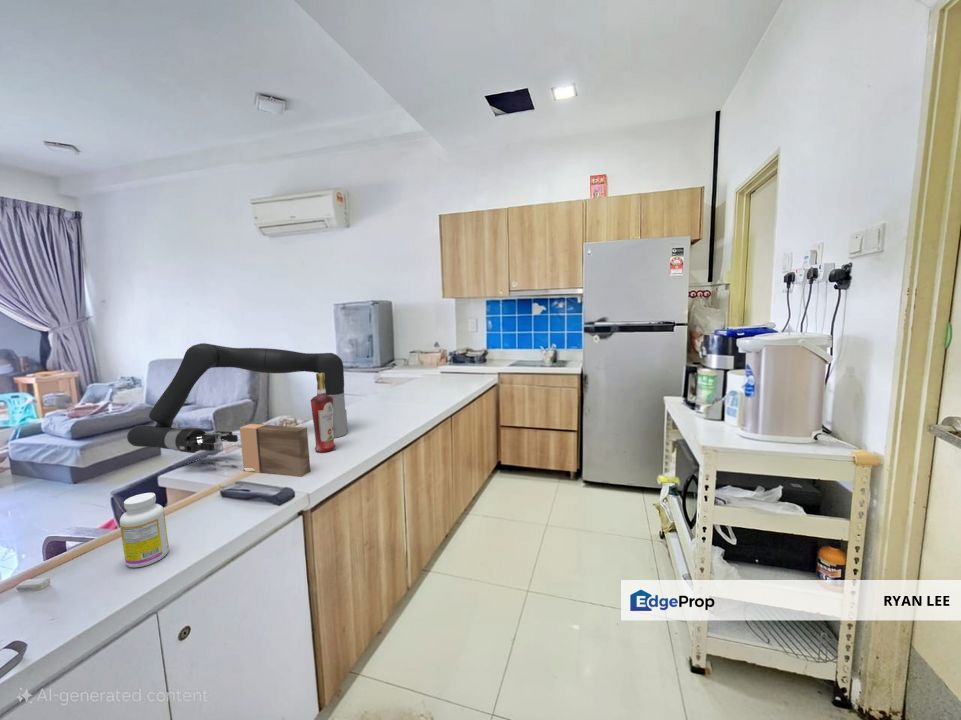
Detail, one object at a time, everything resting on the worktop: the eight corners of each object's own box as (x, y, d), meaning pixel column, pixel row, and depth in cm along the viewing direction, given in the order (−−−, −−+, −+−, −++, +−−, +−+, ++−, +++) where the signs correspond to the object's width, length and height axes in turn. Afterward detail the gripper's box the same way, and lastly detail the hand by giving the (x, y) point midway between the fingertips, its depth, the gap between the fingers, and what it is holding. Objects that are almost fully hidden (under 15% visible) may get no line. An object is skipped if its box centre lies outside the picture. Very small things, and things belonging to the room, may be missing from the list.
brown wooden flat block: (271, 468, 122) (267, 424, 121) (310, 472, 119) (307, 427, 117) (260, 473, 118) (256, 428, 117) (301, 477, 115) (297, 431, 113)
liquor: (327, 445, 143) (322, 371, 140) (340, 449, 139) (335, 372, 136) (309, 452, 137) (304, 374, 133) (323, 455, 133) (317, 375, 130)
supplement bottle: (143, 549, 80) (135, 491, 79) (177, 547, 81) (170, 489, 79) (116, 570, 74) (107, 507, 72) (152, 568, 74) (144, 505, 73)
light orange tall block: (254, 466, 124) (250, 423, 122) (269, 467, 122) (266, 424, 121) (243, 471, 120) (239, 427, 118) (259, 472, 119) (255, 428, 117)
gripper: (162, 434, 120) (203, 438, 116) (204, 422, 133) (243, 425, 129) (164, 458, 120) (205, 462, 116) (206, 443, 134) (245, 446, 130)
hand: (225, 442), depth 123 cm, fingers open, 8 cm apart
